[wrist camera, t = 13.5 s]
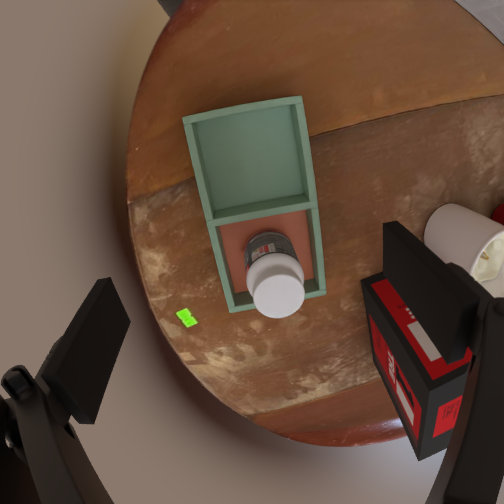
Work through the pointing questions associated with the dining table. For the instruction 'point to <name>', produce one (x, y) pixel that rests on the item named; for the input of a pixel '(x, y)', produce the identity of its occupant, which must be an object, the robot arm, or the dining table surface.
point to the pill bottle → (273, 273)
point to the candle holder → (469, 244)
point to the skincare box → (487, 14)
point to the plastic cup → (499, 214)
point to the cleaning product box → (413, 369)
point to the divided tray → (257, 187)
